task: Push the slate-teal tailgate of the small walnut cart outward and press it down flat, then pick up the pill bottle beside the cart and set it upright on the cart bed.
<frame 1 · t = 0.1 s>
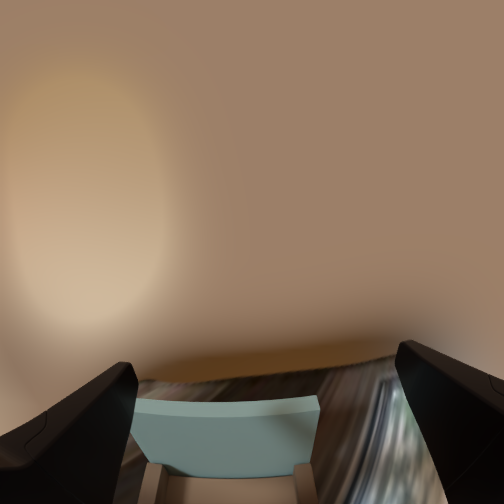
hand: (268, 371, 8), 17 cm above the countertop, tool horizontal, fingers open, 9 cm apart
tailgate: (223, 447, 15), point 5 cm above the countertop, hinge at 0.0°
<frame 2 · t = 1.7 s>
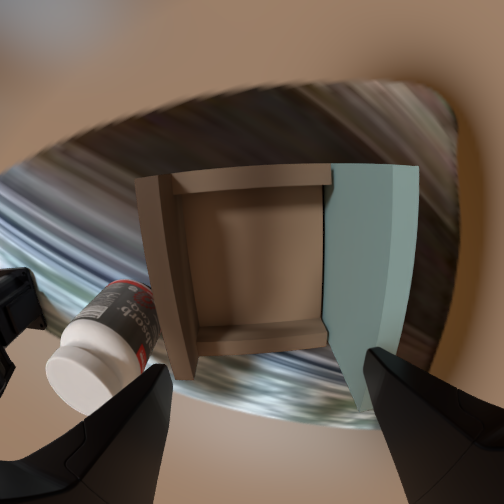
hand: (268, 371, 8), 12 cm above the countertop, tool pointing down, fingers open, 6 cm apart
tailgate: (356, 276, 14), point 5 cm above the countertop, hinge at 0.0°
cart: (246, 253, 20), on the countertop
pill bottle: (134, 307, 21), on the countertop
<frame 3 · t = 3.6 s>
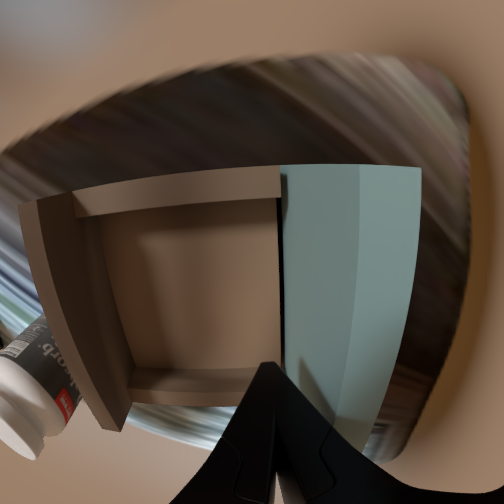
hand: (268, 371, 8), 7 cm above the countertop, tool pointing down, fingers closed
tailgate: (316, 333, 10), point 5 cm above the countertop, hinge at 1.0°, touching gripper
cart: (185, 284, 15), on the countertop
pill bottle: (74, 336, 16), on the countertop
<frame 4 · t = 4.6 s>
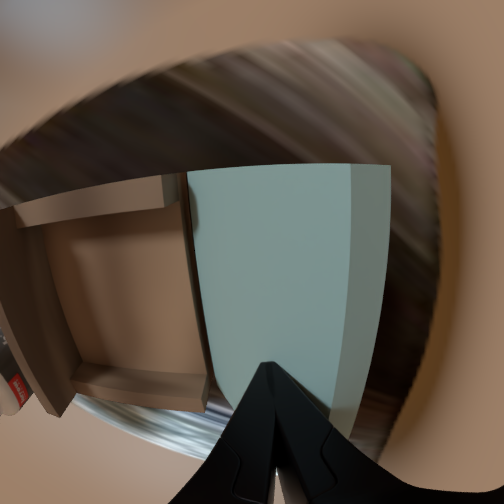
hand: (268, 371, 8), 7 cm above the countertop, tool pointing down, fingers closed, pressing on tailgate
tailgate: (258, 338, 10), point 5 cm above the countertop, hinge at 30.7°, touching gripper
cart: (118, 288, 15), on the countertop
pill bottle: (40, 330, 17), on the countertop
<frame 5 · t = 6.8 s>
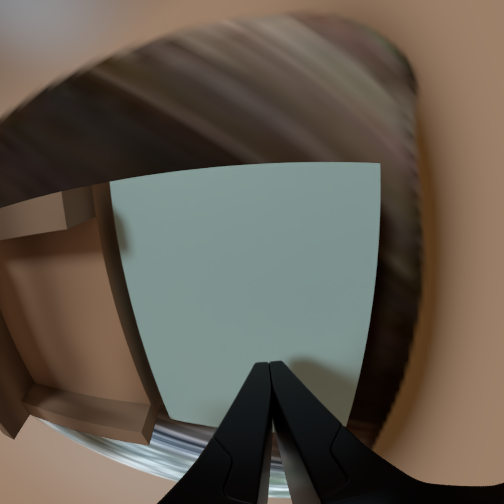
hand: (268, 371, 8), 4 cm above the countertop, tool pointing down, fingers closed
tailgate: (247, 329, 10), point 2 cm above the countertop, hinge at 79.9°
cart: (57, 310, 12), on the countertop
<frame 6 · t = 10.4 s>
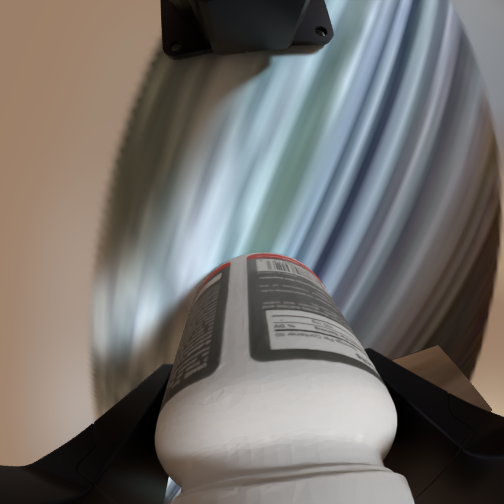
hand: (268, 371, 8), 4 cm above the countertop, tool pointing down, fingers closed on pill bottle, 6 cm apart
cart: (340, 424, 14), on the countertop
pill bottle: (261, 310, 12), on the countertop, touching gripper
when the fingers open (7 cm above the countertop, at t = 14.9 s): pill bottle drops 1 cm, resting on cart.
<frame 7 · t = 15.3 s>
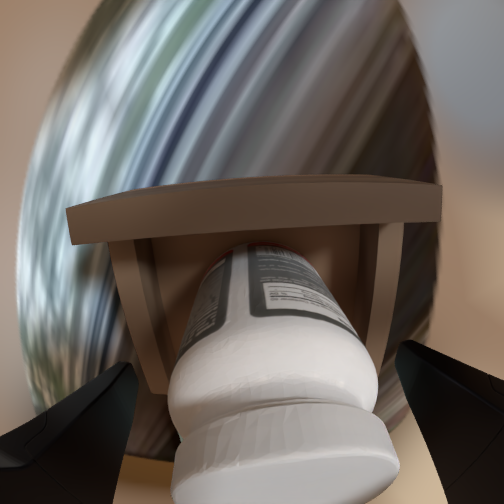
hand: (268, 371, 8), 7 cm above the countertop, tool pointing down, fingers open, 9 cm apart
tailgate: (267, 425, 16), point 2 cm above the countertop, hinge at 79.9°
cart: (258, 275, 14), on the countertop
pill bottle: (260, 294, 13), point 1 cm above the countertop, touching cart
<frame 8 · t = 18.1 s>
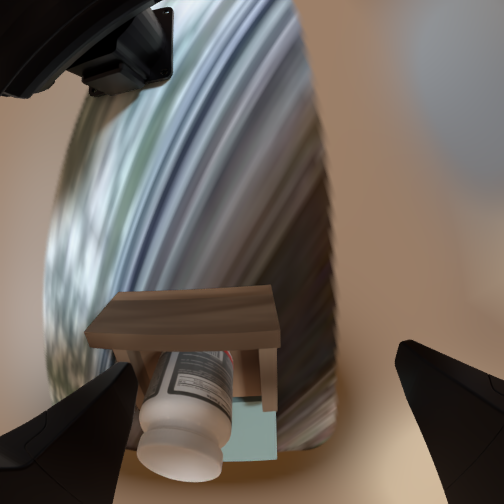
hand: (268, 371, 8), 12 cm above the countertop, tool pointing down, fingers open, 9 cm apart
tailgate: (215, 431, 23), point 2 cm above the countertop, hinge at 79.9°
cart: (199, 344, 22), on the countertop
pill bottle: (198, 357, 21), point 1 cm above the countertop, touching cart
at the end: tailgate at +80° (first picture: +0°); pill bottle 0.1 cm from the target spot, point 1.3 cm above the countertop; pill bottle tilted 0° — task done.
